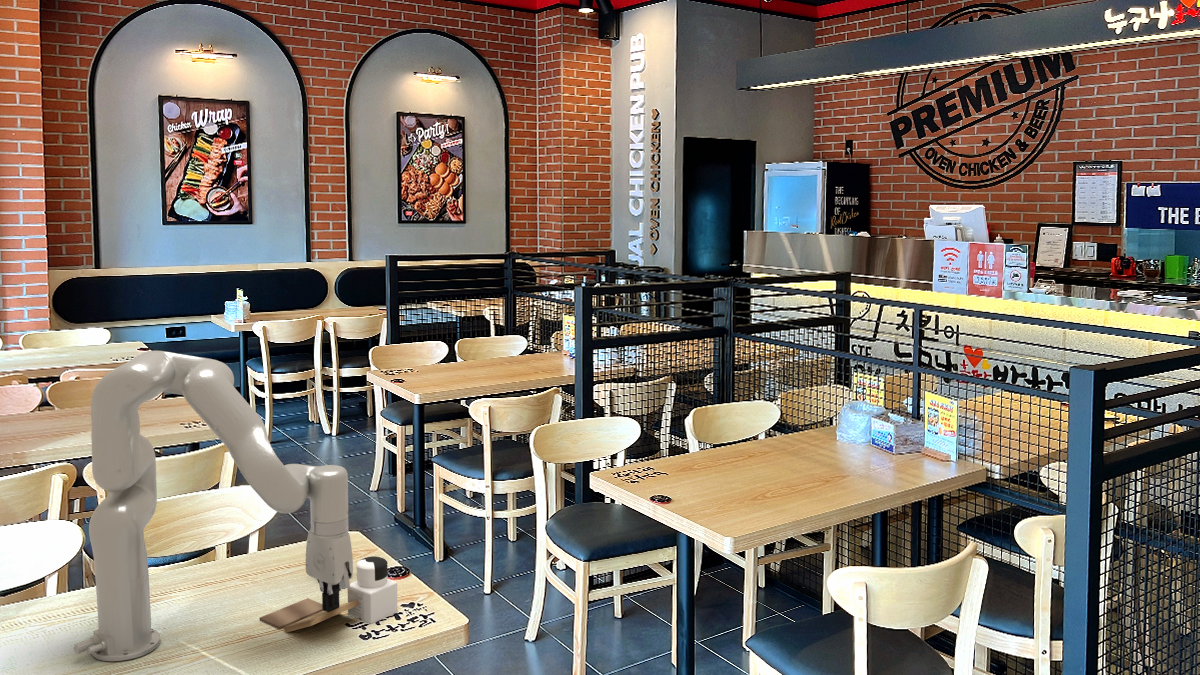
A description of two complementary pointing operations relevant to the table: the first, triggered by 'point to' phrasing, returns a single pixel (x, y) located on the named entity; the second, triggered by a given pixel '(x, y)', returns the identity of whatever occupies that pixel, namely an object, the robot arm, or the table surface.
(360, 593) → the container
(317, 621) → the oak plank
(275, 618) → the laid walnut plank
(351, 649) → the table surface
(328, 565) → the robot arm
